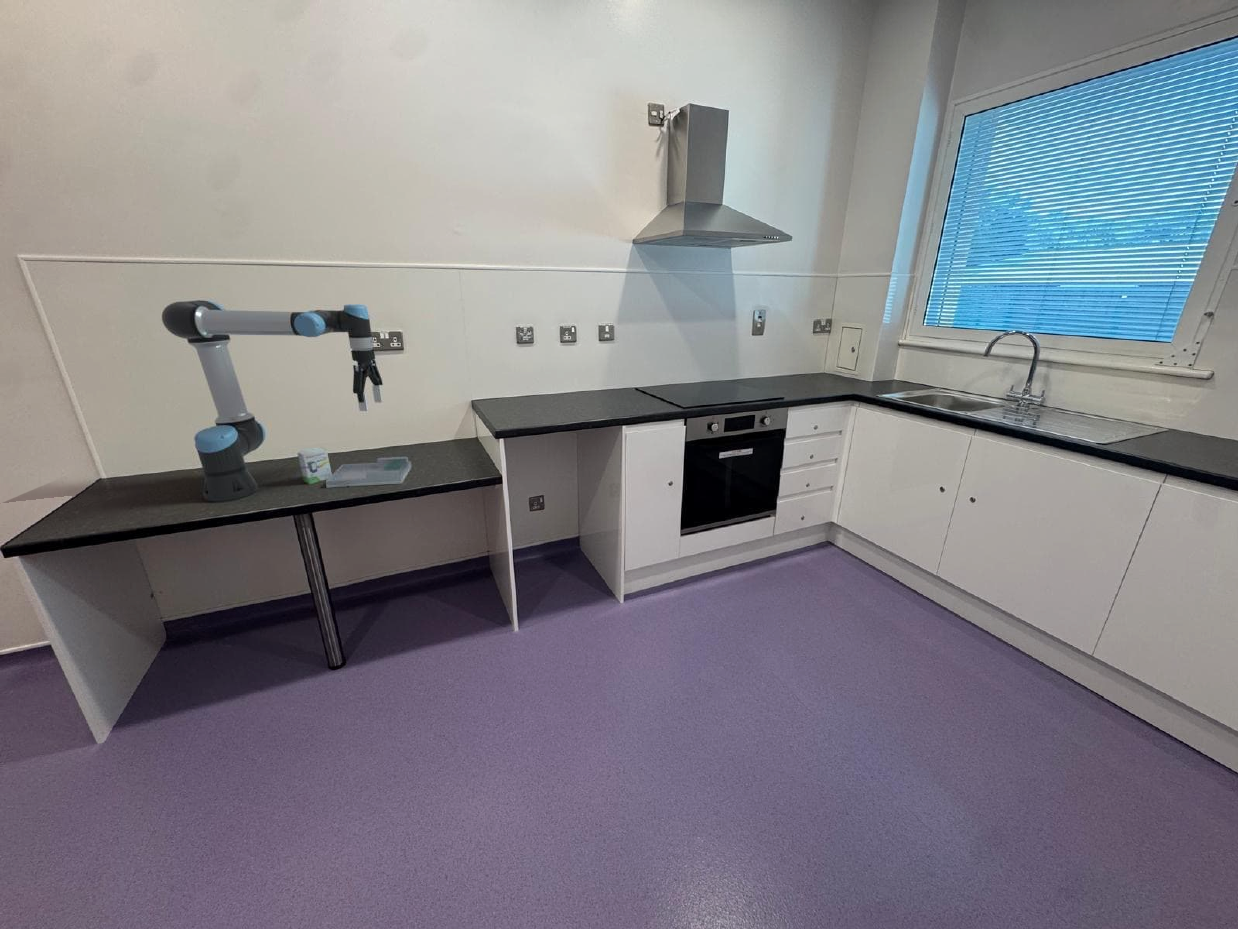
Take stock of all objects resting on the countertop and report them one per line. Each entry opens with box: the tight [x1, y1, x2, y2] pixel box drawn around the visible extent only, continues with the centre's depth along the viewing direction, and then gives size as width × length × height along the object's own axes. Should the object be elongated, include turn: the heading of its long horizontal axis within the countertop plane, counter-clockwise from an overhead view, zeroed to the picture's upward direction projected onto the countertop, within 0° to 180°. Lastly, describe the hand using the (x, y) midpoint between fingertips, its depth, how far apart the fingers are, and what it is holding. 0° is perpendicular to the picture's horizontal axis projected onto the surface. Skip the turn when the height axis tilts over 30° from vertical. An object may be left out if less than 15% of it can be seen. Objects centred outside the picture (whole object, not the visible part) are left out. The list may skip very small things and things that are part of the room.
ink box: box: [297, 446, 333, 485], centre depth 186 cm, size 9×5×12 cm, turn 143°
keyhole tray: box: [325, 456, 413, 489], centre depth 190 cm, size 26×18×4 cm
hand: (371, 406), depth 186 cm, fingers open, 13 cm apart
